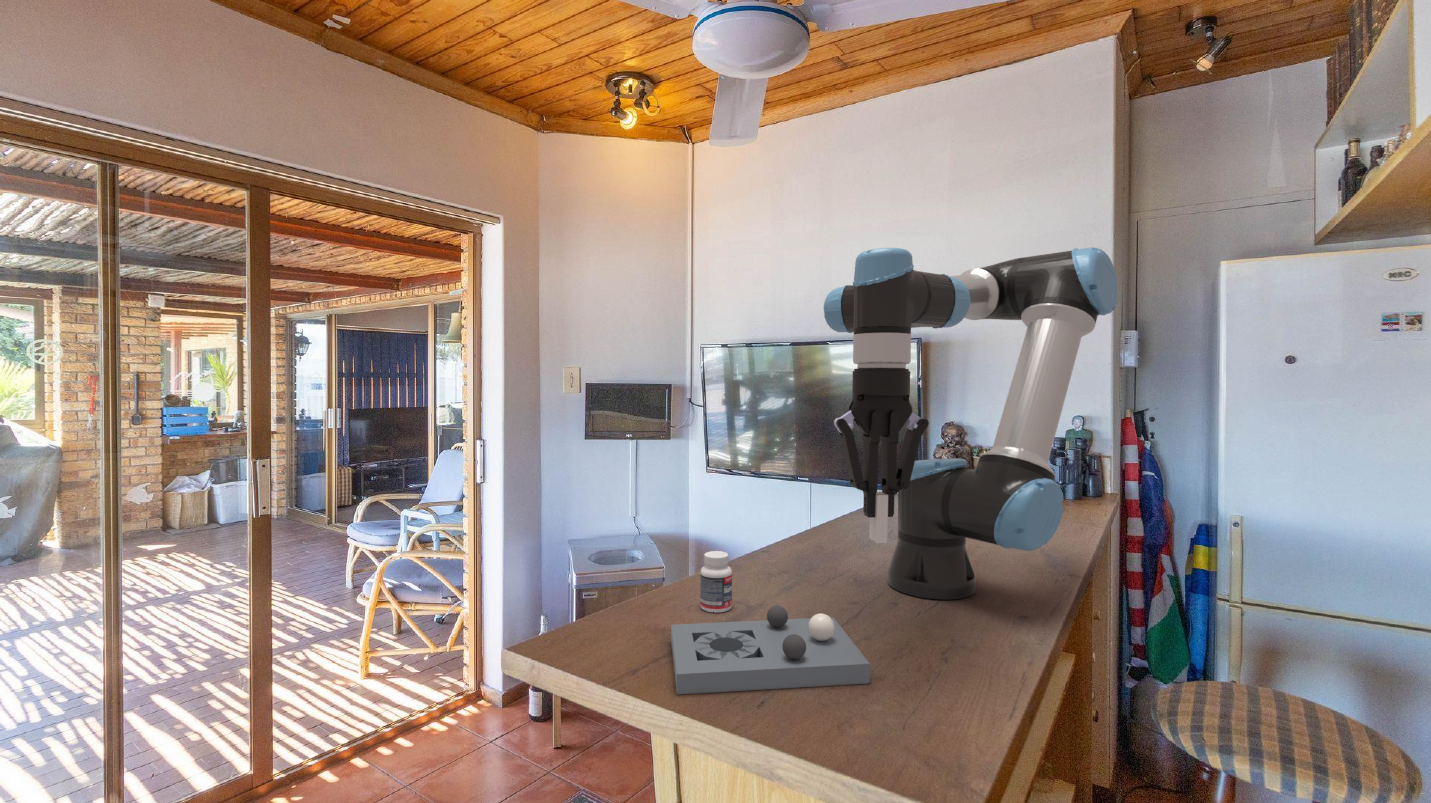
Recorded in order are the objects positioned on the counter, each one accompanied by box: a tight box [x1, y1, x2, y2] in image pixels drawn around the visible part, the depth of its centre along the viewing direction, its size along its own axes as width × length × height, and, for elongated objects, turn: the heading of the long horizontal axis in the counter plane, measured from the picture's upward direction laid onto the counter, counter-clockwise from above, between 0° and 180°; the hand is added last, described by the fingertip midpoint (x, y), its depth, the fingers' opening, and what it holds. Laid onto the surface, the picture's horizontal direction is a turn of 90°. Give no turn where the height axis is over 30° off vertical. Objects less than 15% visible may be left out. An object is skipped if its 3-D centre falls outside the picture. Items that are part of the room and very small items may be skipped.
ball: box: [808, 613, 835, 641], centre depth 85 cm, size 4×4×4 cm
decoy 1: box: [766, 604, 789, 628], centre depth 89 cm, size 3×3×3 cm
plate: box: [670, 616, 871, 695], centre depth 84 cm, size 24×15×2 cm, turn 97°
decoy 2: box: [782, 634, 806, 660], centre depth 79 cm, size 3×3×3 cm
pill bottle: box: [699, 550, 733, 614], centre depth 103 cm, size 5×5×9 cm
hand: (878, 540), depth 85 cm, fingers closed
